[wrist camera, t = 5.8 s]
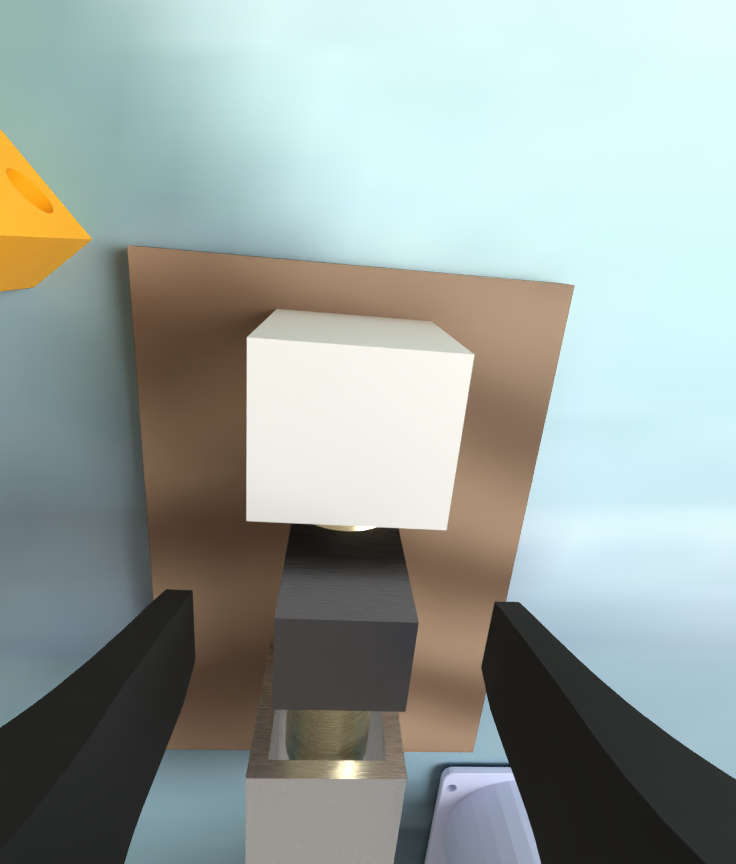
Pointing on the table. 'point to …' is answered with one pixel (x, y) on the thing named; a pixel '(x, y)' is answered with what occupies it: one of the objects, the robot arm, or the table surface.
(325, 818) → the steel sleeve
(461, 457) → the walnut board
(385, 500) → the white square block
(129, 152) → the table surface
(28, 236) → the yellow u-shaped block
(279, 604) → the block with brass knob
